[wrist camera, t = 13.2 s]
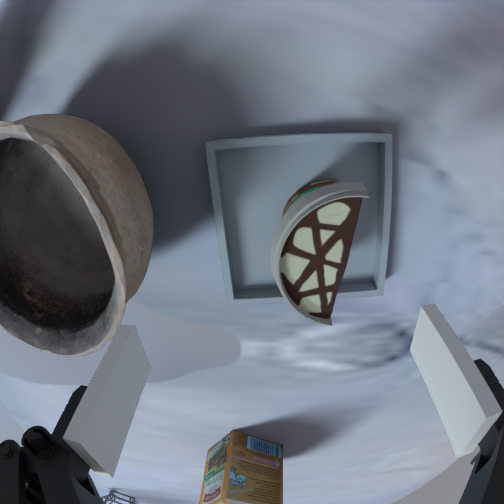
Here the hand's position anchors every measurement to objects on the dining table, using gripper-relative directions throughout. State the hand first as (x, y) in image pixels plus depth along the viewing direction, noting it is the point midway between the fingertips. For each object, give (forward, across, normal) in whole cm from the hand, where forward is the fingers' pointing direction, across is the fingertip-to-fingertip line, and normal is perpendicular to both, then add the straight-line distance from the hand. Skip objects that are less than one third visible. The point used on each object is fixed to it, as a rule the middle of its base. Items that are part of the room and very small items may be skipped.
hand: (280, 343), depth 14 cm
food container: (+20, +3, -2) cm, 21 cm away
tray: (+21, +3, -2) cm, 21 cm away
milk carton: (+21, -8, -47) cm, 52 cm away
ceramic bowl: (+22, -21, +2) cm, 30 cm away
